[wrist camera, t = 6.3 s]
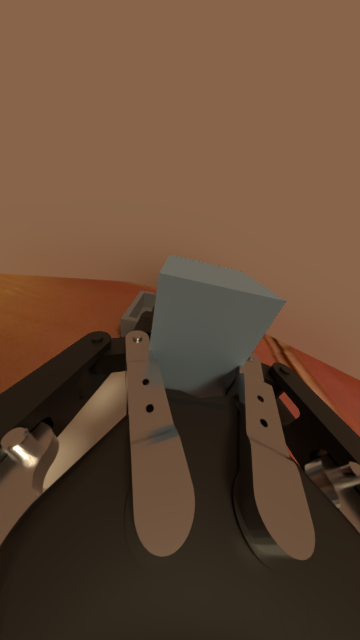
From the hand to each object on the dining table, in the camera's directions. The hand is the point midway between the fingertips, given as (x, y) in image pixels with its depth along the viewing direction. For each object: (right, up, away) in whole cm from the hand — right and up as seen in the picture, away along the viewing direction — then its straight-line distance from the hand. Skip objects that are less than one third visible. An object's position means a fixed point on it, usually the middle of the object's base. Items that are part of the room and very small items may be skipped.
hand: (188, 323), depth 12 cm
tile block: (-1, -7, +1) cm, 7 cm away
